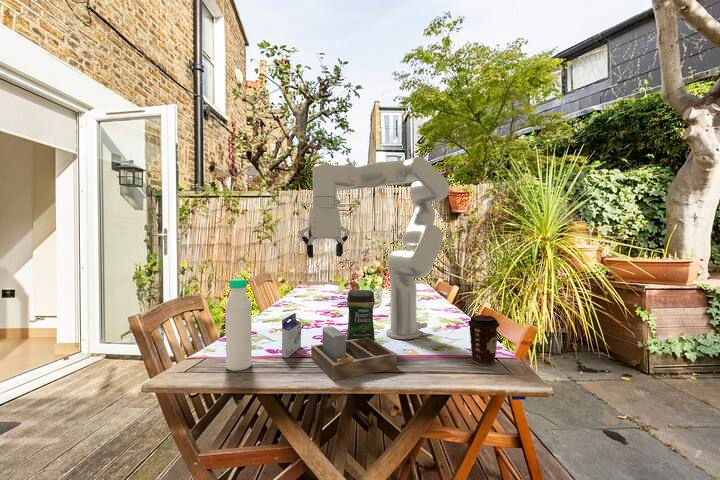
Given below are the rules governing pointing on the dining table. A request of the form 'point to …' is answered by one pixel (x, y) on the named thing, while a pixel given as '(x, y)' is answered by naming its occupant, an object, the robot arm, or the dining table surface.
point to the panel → (334, 343)
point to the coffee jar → (360, 314)
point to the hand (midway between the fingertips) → (325, 256)
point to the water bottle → (238, 327)
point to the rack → (366, 353)
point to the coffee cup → (483, 339)
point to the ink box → (290, 335)
